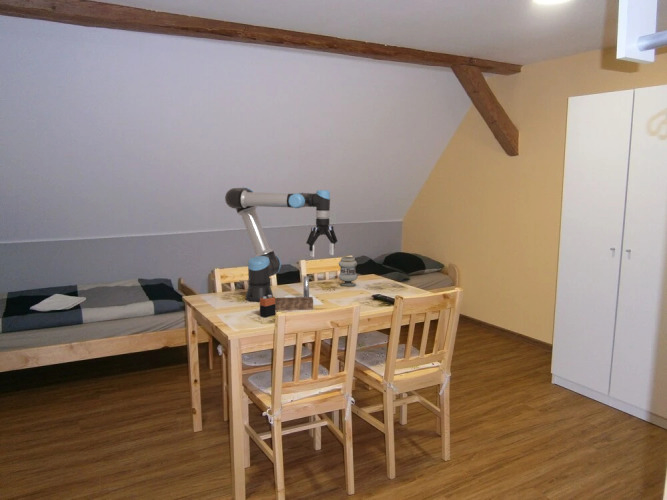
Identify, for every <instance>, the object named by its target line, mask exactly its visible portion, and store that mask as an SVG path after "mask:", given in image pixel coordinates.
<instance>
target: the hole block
mask: <svg viewBox="0 0 667 500" xmlns="http://www.w3.org/2000/svg"><path fill="white" fill-rule="evenodd" d="M306 310H307V311H308V310H309V311H310V310H314V298H313V296H309V297H304V296H299V297H297V296H295V297H292V296H291V297H289V296H288V297H275V311H306Z"/></svg>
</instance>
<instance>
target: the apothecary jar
mask: <svg viewBox="0 0 667 500" xmlns="http://www.w3.org/2000/svg"><path fill="white" fill-rule="evenodd" d="M355 259H356V258H355V256H341V259H340V260H339V262H338V266H339V268H340V273H339V274H338V279H339V281H342V283H340V284H339V285H340V287H344V288H353V287H355V286H357V285H356V283H354V281H356V280H357V279H358V274H357V272H356V271H357V270H356V267H357V266H358V262H357V260H355Z"/></svg>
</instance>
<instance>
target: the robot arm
mask: <svg viewBox="0 0 667 500" xmlns="http://www.w3.org/2000/svg"><path fill="white" fill-rule="evenodd" d="M224 198H225V199H224V200H225V203H226V205H227V206H228V207H230V208H231V209H234V210H236V213H237V214H238V215H239V216H241V219H242V221H243V224H244V226H245V229H246V231H247V234H248V237H249V240H250V242H251V244H252V246H253V249H254V252H255V256H254V257H251V258H249V259H248V262H247V263H248V264H247V268H248V270H247V271H248V287H247V290H246V294H245V300H246V301H247V302H252V303H253V302H254V303H260V298H263V297H264V296H266V297H267V296H268V295H272V297H274V294H273V291H272V288H271V284H270V283H271V282H270V277H272V276H275V275H276V274H277V273H279V272H280V270H281V267H282V261H281V259H280V258H279V256H278V255H276V254H275V251H274V250H273V249H271V248H270V246H269V243H268V240H267V237H266V235H265V232H264V230H263V227H262V225H261V223H260V222H261V221H260V219H259V216H258V214H257V212H256V209H257V207H263V208H265V207H266V208H269V207H270V208H290V209H291V208H292V209H301V208H307V207H308V208H310V207H311V208H315V209H316V210H315V217H316V218H315V225H316V226H311V229H310V233H309V235H308V237H307V240H306V245H308V246H309V248H308V249H309V255H310V256H309V257H312V258H315V245H314V244H315V243H316V241H317V239H318V238H319V237H320V236H323V235H324V236H326V237H327V239H328V241H329V250H328V251H329V255H331V256H334V251H335V250H334V249H335V245H336V244H337V243H338V239H337V236H336V233H335V230H334V226H332V225H330V212H331V211H330V210H331V209H330V207H331V206H330V205H331V192H330V190H327V189H323V190H322V189H317V190H316V192H315V193H309V192H298V193H282V192H276V193H275V192H254V191H253V190H252V189H250V188H248V187H234V188H230V189H229V190H228V191H226V193H225V196H224Z"/></svg>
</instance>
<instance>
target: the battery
mask: <svg viewBox="0 0 667 500" xmlns="http://www.w3.org/2000/svg"><path fill="white" fill-rule="evenodd" d="M275 298H276V297H275V296H273V297H272V295H268V296H267V297H266V296H264V297H263V298H260V302H259V315H260V316H259V317H262V318H268V317H269V318H270V317H272V316H276V310H275Z"/></svg>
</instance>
